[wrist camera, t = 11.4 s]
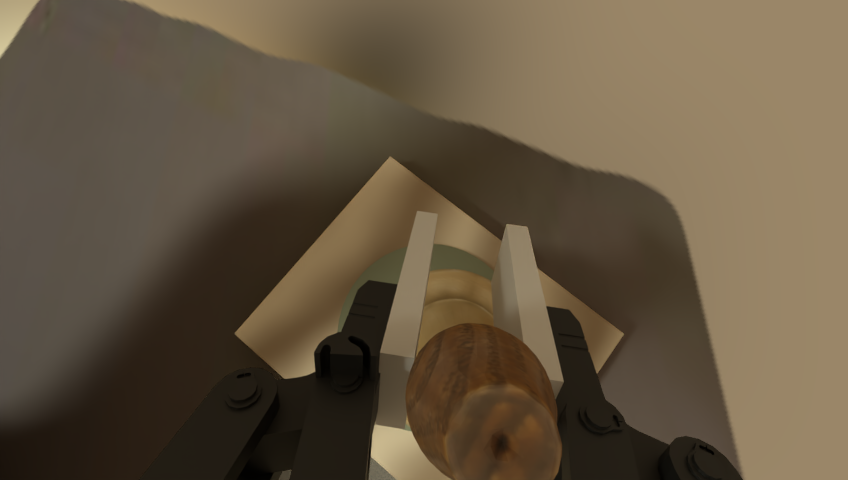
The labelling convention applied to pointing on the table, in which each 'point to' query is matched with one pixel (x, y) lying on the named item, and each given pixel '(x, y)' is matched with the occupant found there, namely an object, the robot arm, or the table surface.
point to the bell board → (382, 261)
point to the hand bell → (478, 389)
